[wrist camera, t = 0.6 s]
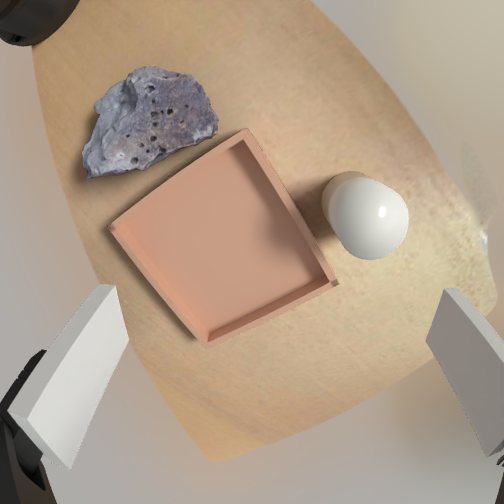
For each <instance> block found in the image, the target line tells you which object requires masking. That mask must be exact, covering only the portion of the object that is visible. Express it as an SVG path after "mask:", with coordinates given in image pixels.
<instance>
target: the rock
mask: <svg viewBox="0 0 504 504" xmlns="http://www.w3.org/2000/svg"><path fill="white" fill-rule="evenodd" d="M210 105H211V104H210V99H209V96H208V95H207V94H206V93H204V89H203V87H202V86H201V85H200V84H199V83H198V82H197V81H196V80H195V78H194V77H193V76H192V75H191V74H188V73H176V72H169V71H167V70H163V69H161V68H159V67H157V66H154V67H152V66H149V67H146V66H144V67H142V68H140V69H135V70H134V72H133V73H129V75H128V77H127V79H126V80H123V81H120V82H119V83H117V84H115V85H114V86H112V87H110V89H109V90H108V92H107V94H106V95H105V96H104V97H103V98H102V99H100V100H99V101H98V102H97V103H96V104H95V105H94V109H95V110H96V112H97V114H100V116H99V118H98V120H97V123H96V125H95V128H94V130H93V133H92V136H91V139H90V141H89V142H88V143H86V144H85V145H84V148H83V152H82V154H83V160H82V162H83V167H84V168H85V169H87V179H92V178H95V177H101V176H110V175H120V174H122V173H125V172H128V171H132V170H136V169H139V170H141V171H144V170H146V169H148V167H150V166H152V165H153V164H155V163H156V162H159V161H162V160H164V159H165V158H166V157H167V156H169V155H170V154H172V153H174V152H175V151H176V150H177V149H179V148H182V147H185V146H189V145H198V144H199V143H200V142H202V141H203V140H206V139H211V138H212V137H213V135H216V134H217V129H218V128H217V127H218V126H217V122H218V121H219V117H218V116H217V115H216V114H215V112H214V111H213V110H212V108H211V106H210Z"/></svg>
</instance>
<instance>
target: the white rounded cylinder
mask: <svg viewBox="0 0 504 504" xmlns="http://www.w3.org/2000/svg"><path fill="white" fill-rule="evenodd" d="M321 206H322V211H323V214H324V216H325V218H326V219H327V221H328V222H329V224H330V225H331V227H332V229H333V230H334V232H335V233H336V235H337V237H338V238H339V240H340V241H341V243H342V245H343V246H344V248H345V249H346V250H347V251H348V252H349V253H350V254H352V255H353V256H355V257H357V258H360V259H365V260H375V259H380V258H382V257H385V256H387V255H389V254H390V253H392V252H393V251H394V250H395V249H396V248H397V247H398V246H399V245H400V244H401V242H402V241H403V239H404V237H405V235H406V232H407V229H408V223H409V215H408V210H407V207H406V204H405V202H404V201H403V199H402V198H401V197H400V195H399V194H398V193H396V192H395V191H393V190H392V189H390V188H388V187H387V186H385V185H383V184H381V183H380V182H378V181H376V180H374V179H372V178H370V177H369V176H367V175H365V174H363V173H360V172H356V171H347V172H343V173H340V174H338V175H336V176H335V177H334V178H332V179H331V180H330V181H329V182H328V184H327V185H326V187H325V189H324V191H323V194H322V199H321Z"/></svg>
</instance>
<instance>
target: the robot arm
mask: <svg viewBox="0 0 504 504" xmlns="http://www.w3.org/2000/svg"><path fill="white" fill-rule="evenodd" d="M78 2H79V0H0V38H1V39H2V40H3V41H5V42H6V43H9V44H11V45H17V46H30V45H34V44H36V43H38V42H40V41H42V40H44V39H45V38H47V37H48V36H50V35H51V34H52V33H53V32H54V31H56V30H57V29H58V28H59V27H60V26H61V25H62V24H63V23H64V21H65V20H66V19H67V18H68V17H69V15H70V14H71V13H72V11H73V10H74V8H75V7H76V5H77V4H78ZM128 341H129V338H128V334H127V331H126V327H125V323H124V320H123V316H122V312H121V308H120V304H119V300H118V295H117V291H116V287H115V285H106V284H98V285H97V287H96V288H95V289H94V290H93V292H92V293H91V294H90V296H89V297H88V298H87V299H86V300H85V301H84V303H83V304H82V305H81V307H80V308H79V309H78V310H77V312H76V313H75V314H74V315H73V317H72V318H71V319H70V321H69V322H68V323H67V325H66V326H65V327H64V328H63V330H62V331H61V332H60V334H59V335H58V336H57V338H56V339H55V341H54V342H53V343H52V345H51V346H50V347H49V349H48V350H41V351H39V352H38V353H37V354H35V355H34V356H33V357H32V358H31V359H30V360H29V362H28V363H27V364H26V366H25V367H24V370H22V371H21V373H20V374H19V376H18V379H16V380H15V381H14V383H13V384H12V386H11V387H10V389H9V391H8V392H7V393H6V395H5V396H4V398H3V399H2V401H1V403H0V504H57V503H56V500H55V497H54V494H53V492H52V489H51V486H50V484H49V481H48V478H47V474H46V471H45V468H44V466H43V464H42V462H41V460H40V459H41V457H42V455H43V454H44V455H45V457H46V458H47V459H48V460H49V461H50V462H51V463H53V464H56V465H58V466H61V467H63V468H66V469H69V470H71V467H72V465H73V462H74V460H75V457H76V455H77V452H78V450H79V448H80V445H81V443H82V440H83V438H84V436H85V433H86V431H87V429H88V426H89V424H90V422H91V419H92V417H93V415H94V413H95V410H96V408H97V406H98V404H99V401H100V399H101V397H102V395H103V393H104V391H105V389H106V386H107V384H108V382H109V380H110V378H111V376H112V374H113V372H114V370H115V368H116V365H117V363H118V361H119V359H120V357H121V355H122V353H123V351H124V349H125V347H126V345H127V343H128ZM425 341H426V342H427V344H428V346H429V347H430V349H431V351H432V352H433V354H434V356H435V358H436V359H437V361H438V363H439V364H440V366H441V368H442V370H443V372H444V373H445V375H446V377H447V379H448V381H449V382H450V384H451V386H452V388H453V390H454V392H455V393H456V395H457V397H458V399H459V401H460V403H461V405H462V407H463V409H464V411H465V413H466V415H467V417H468V419H469V421H470V423H471V425H472V427H473V429H474V431H475V433H476V435H477V438H478V440H479V442H480V444H481V446H482V449H483V451H484V453H485V455H486V457H489V456H491V455H493V454H495V453H497V452H499V451H501V450H502V449H503V448H504V341H503V340H502V339H501V338H500V336H499V335H498V334H497V333H496V331H495V330H494V329H493V328H492V327H491V325H490V324H489V323H488V322H487V321H486V319H485V318H484V317H483V316H482V315H481V314H480V312H479V311H478V310H477V309H476V308H475V307H474V306H473V305H472V303H471V302H470V301H469V300H468V299H467V298H466V297H465V296H464V295H463V293H462V292H461V291H460V290H459V289H458V288H445V289H444V290H443V293H442V296H441V299H440V302H439V305H438V308H437V311H436V314H435V317H434V319H433V322H432V325H431V328H430V330H429V333H428V335H427V338H426V340H425ZM503 460H504V455H503V456H502V457H501V458H500V459H499V460H498V462H497V465H499V464H500V463H501V462H502V461H503ZM502 466H503V467H504V463H503V465H502ZM495 504H504V473H503V477H502V481H501V485H500V488H499V492H498V495H497V499H496V502H495Z"/></svg>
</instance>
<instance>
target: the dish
mask: <svg viewBox="0 0 504 504" xmlns="http://www.w3.org/2000/svg"><path fill="white" fill-rule="evenodd" d="M107 227H108V228H109V230H110V231H111V233H112V234H113V235H114V237H115V238H116V239H117V241H118V242H119V243H120V245H121V246H122V248H123V249H124V250H125V252H126V253H127V254H128V256H129V257H130V258H131V259H132V261H133V262H134V263H135V265H136V266H137V267H138V269H139V270H140V271H141V272H142V274H143V275H144V276H145V277H146V279H147V280H148V281H149V282H150V284H151V285H152V286H153V287H154V289H155V290H156V291H157V292H158V294H159V295H160V296H161V297H162V298H163V300H164V301H165V302H166V303H167V304H168V306H169V307H170V308H171V309H172V310H173V312H174V313H175V314H176V315H177V316H178V317H179V319H180V320H181V321H182V322H183V323H184V324H185V326H186V327H187V328H188V329H189V330H190V331H191V332H192V334H193V335H194V336H195V337H196V338H197V339H198V340H199V341H200V342H201V344H202V345H203V346H204V347H205V348H206V349H207V348H210V347H212V346H214V345H216V344H219V343H221V342H223V341H225V340H227V339H230V338H232V337H234V336H236V335H238V334H240V333H243V332H245V331H247V330H249V329H251V328H253V327H255V326H257V325H259V324H262V323H264V322H266V321H268V320H270V319H272V318H274V317H276V316H278V315H280V314H282V313H284V312H286V311H288V310H290V309H292V308H294V307H296V306H298V305H300V304H302V303H304V302H306V301H308V300H310V299H312V298H314V297H316V296H318V295H319V294H321V293H323V292H325V291H327V290H329V289H331V288H333V287H335V286H336V285H338V284H339V282H338V280H337V278H336V276H335V273H334V271H333V269H332V268H331V266H330V264H329V262H328V260H327V258H326V257H325V255H324V253H323V251H322V250H321V248H320V246H319V244H318V242H317V241H316V239H315V237H314V235H313V234H312V232H311V230H310V229H309V227H308V225H307V223H306V222H305V220H304V218H303V217H302V215H301V213H300V211H299V210H298V208H297V206H296V205H295V203H294V201H293V200H292V198H291V196H290V195H289V193H288V191H287V190H286V188H285V186H284V185H283V183H282V182H281V180H280V178H279V177H278V175H277V173H276V172H275V170H274V169H273V167H272V165H271V164H270V162H269V161H268V159H267V157H266V156H265V154H264V153H263V151H262V150H261V148H260V146H259V145H258V143H257V142H256V140H255V139H254V137H253V136H252V134H251V133H250V131H249V129H248V128H245V129H243V130H242V131H240V132H239V133H237V134H235V135H234V136H232V137H231V138H229V139H227V140H226V141H224V142H223V143H221V144H220V145H218V146H217V147H215V148H214V149H212V150H210V151H209V152H207V153H206V154H204V155H203V156H201V157H200V158H198V159H197V160H196V161H194V162H193V163H191V164H190V165H188V166H187V167H185V168H184V169H182V170H181V171H180V172H178V173H177V174H175V175H174V176H173V177H171V178H170V179H168V180H167V181H166V182H164V183H163V184H162V185H160V186H159V187H157V188H156V189H155V190H153V191H152V192H151V193H149V194H148V195H147V196H145V197H144V198H143V199H141V200H140V201H139V202H138V203H136V204H135V205H134V206H132V207H131V208H130V209H129V210H127V211H126V212H125V213H123V214H122V215H121V216H120V217H118V218H117V219H116V220H115V221H113V222H112V223H111V224H110V225H109V226H107Z"/></svg>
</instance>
